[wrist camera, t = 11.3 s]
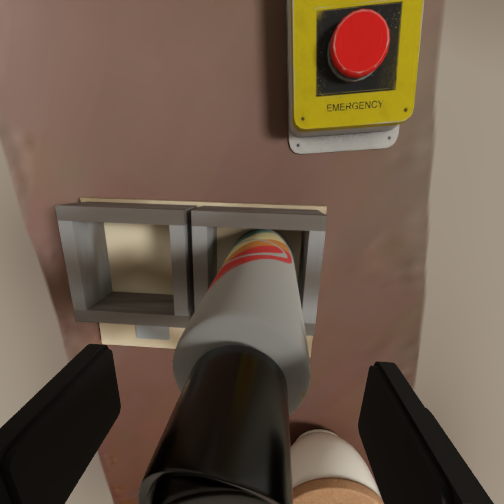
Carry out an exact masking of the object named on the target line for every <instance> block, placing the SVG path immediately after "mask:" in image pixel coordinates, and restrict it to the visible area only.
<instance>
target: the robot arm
mask: <svg viewBox="0 0 504 504" xmlns="http://www.w3.org/2000/svg"><path fill="white" fill-rule="evenodd" d="M120 409H121V404H120V397H119V391H118V385H117V379H116V372H115V366H114V360H113V354H112V351H111V350H110V349H109V348H108V346H107V345H100V344H89V345H87V346H86V347H85V348H84V349H83V350H82V351H81V352H80V353H79V354H78V355H76V356H75V357H74V358H73V359H72V360H71V361H70V362H69V363H68V364H67V365H66V366H65V367H64V368H63V369H62V370H61V371H60V372H59V373H58V374H57V375H56V376H55V377H53V379H52V380H50V381H49V382H48V383H47V384H46V385H45V386H44V387H43V388H42V389H41V390H40V391H39V392H38V393H37V394H36V395H35V396H34V397H33V398H32V399H30V401H28V402H27V403H26V404H25V406H23V407H22V408H21V409H20V410H19V411H18V412H17V413H16V414H15V415H14V416H13V417H12V418H11V419H10V420H9V421H8V422H6V424H4V425H3V426H2V427H1V428H0V504H65V502H66V501H67V499H68V497H69V496H70V494H71V492H72V491H73V489H74V488H75V486H76V484H77V483H78V481H79V479H80V478H81V476H82V475H83V473H84V471H85V470H86V468H87V466H88V465H89V463H90V461H91V460H92V458H93V457H94V455H95V453H96V452H97V450H98V448H99V447H100V445H101V444H102V442H103V440H104V439H105V437H106V435H107V434H108V432H109V430H110V429H111V427H112V426H113V424H114V422H115V421H116V419H117V417H118V415H119V413H120ZM358 429H359V434H360V437H361V440H362V443H363V446H364V448H365V451H366V454H367V457H368V460H369V463H370V465H371V468H372V471H373V474H374V477H375V479H376V482H377V485H378V488H379V491H380V494H381V496H382V499H383V502H384V504H494V503H493V502H492V500H491V499H490V498H489V496H488V495H487V493H486V492H485V490H484V489H483V487H482V486H481V484H480V483H479V482H478V480H477V479H476V477H475V476H474V474H473V473H472V471H471V470H470V468H469V467H468V466H467V464H466V463H465V461H464V460H463V458H462V457H461V455H460V454H459V452H458V451H457V449H456V448H455V447H454V445H453V444H452V442H451V441H450V439H449V438H448V436H447V435H446V434H445V432H444V431H443V429H442V428H441V426H440V425H439V423H438V422H437V420H436V419H435V417H434V416H433V415H432V413H431V412H430V411H429V410H428V409H427V408H425V407H424V405H423V404H422V403H421V401H420V400H419V398H418V397H417V395H416V394H415V392H414V391H413V389H412V388H411V386H410V385H409V383H408V382H407V380H406V379H405V377H404V376H403V374H402V373H401V371H400V370H399V368H398V367H397V366H396V364H395V363H391V362H375V364H374V366H370V368H369V372H368V377H367V382H366V387H365V392H364V397H363V402H362V407H361V412H360V417H359V422H358Z"/></svg>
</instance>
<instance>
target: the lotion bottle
mask: <svg viewBox="0 0 504 504" xmlns="http://www.w3.org/2000/svg"><path fill="white" fill-rule="evenodd" d="M173 373H174V377H175V380H176V383H177V386H178V388H179V390H180V392H181V394H180V397H179V399H178V401H177V403H176V406H175V408H174V410H173V412H172V414H171V417H170V419H169V421H168V423H167V426H166V428H165V430H164V432H163V434H162V437H161V439H160V441H159V443H158V446H157V448H156V450H155V452H154V454H153V457H152V459H151V461H150V463H149V466H148V468H147V470H146V472H145V475H144V477H143V479H142V482H141V485H140V488H139V494H138V504H293V489H292V468H291V447H290V427H289V416H290V415H291V414H292V413H293V412H294V411H295V410H296V409H297V408H298V407H299V406H300V405H301V404H302V402H303V401H304V399H305V397H306V395H307V393H308V390H309V386H310V379H311V367H310V358H309V351H308V345H307V338H306V332H305V326H304V320H303V314H302V308H301V302H300V296H299V290H298V284H297V278H296V272H295V266H294V260H293V255H292V251H291V248H290V246H289V244H288V242H287V241H286V239H285V238H284V237H283V236H282V235H280V234H279V233H277V232H275V231H273V230H270V229H254V230H251V231H249V232H247V233H245V234H244V235H243V236H242V237H240V238H239V240H238V241H237V242H236V244H235V245H234V247H233V248H232V250H231V252H230V253H229V255H228V257H227V258H226V260H225V262H224V264H223V265H222V267H221V269H220V270H219V272H218V274H217V275H216V277H215V279H214V280H213V282H212V284H211V285H210V287H209V289H208V291H207V292H206V294H205V296H204V297H203V299H202V301H201V302H200V304H199V306H198V307H197V309H196V311H195V313H194V314H193V316H192V318H191V319H190V321H189V323H188V325H187V326H186V328H185V330H184V332H183V334H182V335H181V337H180V339H179V341H178V343H177V346H176V349H175V353H174V357H173Z"/></svg>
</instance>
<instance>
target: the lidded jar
mask: <svg viewBox="0 0 504 504" xmlns="http://www.w3.org/2000/svg"><path fill="white" fill-rule="evenodd" d="M291 468H292V489H293V504H384V502H383V500H382V498H381V496H380V493H379V490H378V488H377V485H376V483H375V481H374V478H373V476H372V474H371V472H370V470H369V468H368V467H367V465H366V463H365V461H364V460H363V458H362V457H361V456H360V455H359V453H358V452H357V451H356V450H355V449H354V448H353V447H352V446H351V445H350V444H349V443H348V442H346V441H345V440H343V439H342V438H340V437H339V436H337V435H336V434H335V433H333V432H331V431H328V430H323V429H314V430H309V431H307V432H305V433H303V434H301V435H300V436H299V437H298V438H297V440H296V442H295V443H294V444H293V445H292V446H291Z"/></svg>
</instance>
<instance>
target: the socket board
mask: <svg viewBox="0 0 504 504" xmlns="http://www.w3.org/2000/svg"><path fill="white" fill-rule="evenodd" d="M80 200H81V202H80V203H71V204H63V205H55V209H56V215H57V220H58V226H59V231H60V237H61V242H62V248H63V253H64V259H65V265H66V270H67V276H68V281H69V287H70V292H71V298H72V303H73V309H74V314H75V320H76V321H78V322H94V323H99V325H100V331H101V338H102V344H112V345H127V346H142V347H157V348H173V349H176V346H177V343H178V341H179V339H180V337H181V335H182V334H183V332H184V330H185V328H186V326H187V325H188V323H189V321H190V319H191V318H192V316H193V314H194V313H195V311H196V309H197V307H198V306H199V304H200V302H201V301H202V299H203V297H204V296H205V294H206V292H207V291H208V289H209V287H210V285H211V284H212V282H213V280H214V279H215V277H216V275H217V274H218V272H219V270H220V269H221V267H222V265H223V264H224V262H225V260H226V258H227V257H228V255H229V253H230V252H231V250H232V248H233V247H234V245H235V244H236V242H237V241H238V240H239V238H240V237H242V236H243V235H244V234H245V233H247V232H249V231H251V230H254V229H270V230H273V231H275V232H277V233H279V234H280V235H282V236H283V237H284V238H285V239H286V241H287V242H288V244H289V246H290V248H291V251H292V255H293V260H294V266H295V272H296V278H297V284H298V290H299V296H300V302H301V308H302V314H303V320H304V326H305V332H306V338H307V345H308V351H309V357H310V355H311V346H312V337H313V336H314V331H315V322H316V313H317V304H318V295H319V286H320V277H321V268H322V259H323V250H324V241H325V232H326V222H327V215H326V209H327V207H326V206H321V205H293V204H265V203H237V202H209V201H181V200H153V199H125V198H97V197H84V198H80Z"/></svg>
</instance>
